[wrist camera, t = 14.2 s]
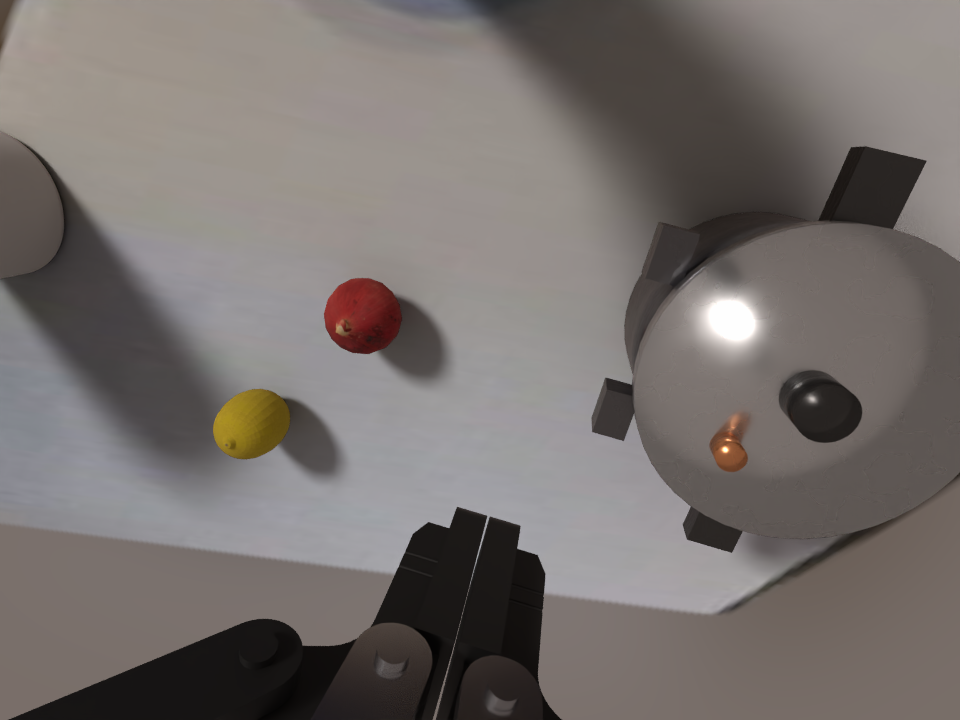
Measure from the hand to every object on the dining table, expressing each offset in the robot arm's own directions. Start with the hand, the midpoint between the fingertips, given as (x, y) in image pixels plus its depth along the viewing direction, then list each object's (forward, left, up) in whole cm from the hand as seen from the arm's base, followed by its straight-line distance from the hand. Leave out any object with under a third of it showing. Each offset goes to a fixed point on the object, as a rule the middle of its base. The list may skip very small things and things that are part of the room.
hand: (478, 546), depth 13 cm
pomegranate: (+6, -13, -33) cm, 36 cm away
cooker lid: (0, +15, -21) cm, 26 cm away
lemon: (+18, -21, -33) cm, 43 cm away
